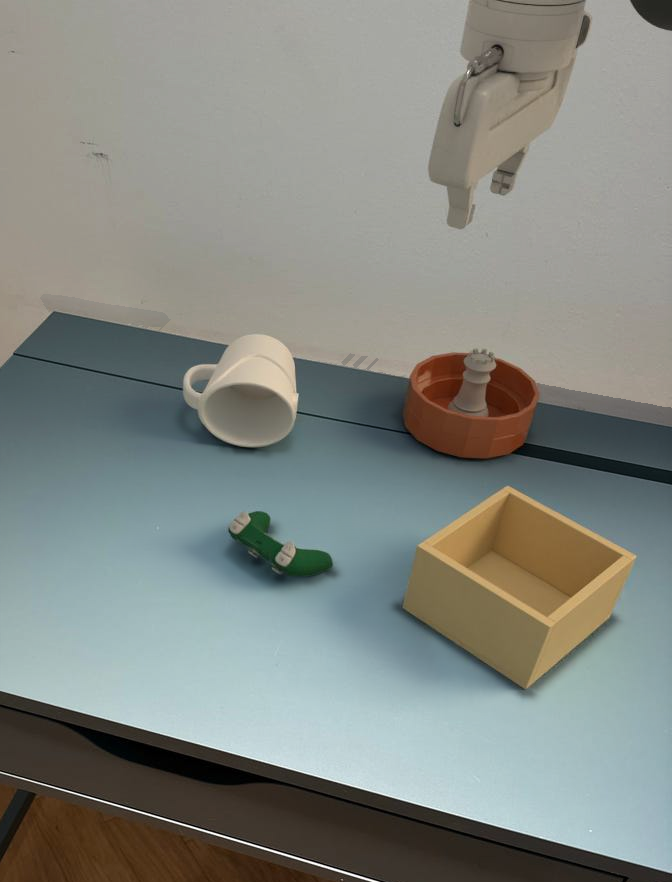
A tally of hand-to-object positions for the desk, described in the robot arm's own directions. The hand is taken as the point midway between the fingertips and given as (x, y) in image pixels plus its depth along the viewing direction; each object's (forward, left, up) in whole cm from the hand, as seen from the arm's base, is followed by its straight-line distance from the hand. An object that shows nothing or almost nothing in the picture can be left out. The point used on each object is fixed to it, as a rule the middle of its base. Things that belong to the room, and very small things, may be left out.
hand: (480, 208), depth 90 cm
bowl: (-3, +2, -23) cm, 23 cm away
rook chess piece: (-3, +2, -23) cm, 23 cm away
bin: (+18, +22, -23) cm, 37 cm away
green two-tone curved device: (+28, +4, -23) cm, 37 cm away
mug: (+15, -14, -23) cm, 31 cm away
